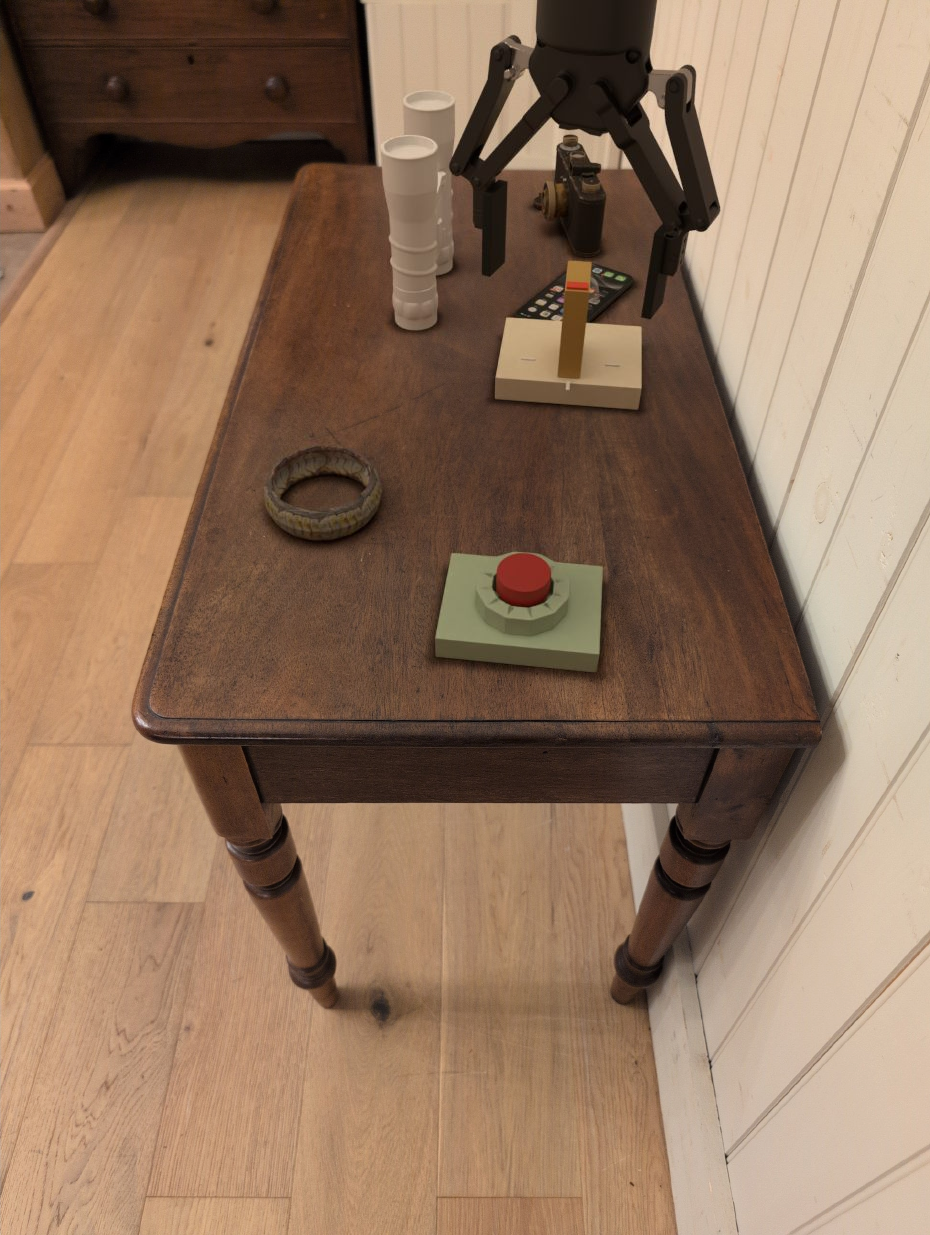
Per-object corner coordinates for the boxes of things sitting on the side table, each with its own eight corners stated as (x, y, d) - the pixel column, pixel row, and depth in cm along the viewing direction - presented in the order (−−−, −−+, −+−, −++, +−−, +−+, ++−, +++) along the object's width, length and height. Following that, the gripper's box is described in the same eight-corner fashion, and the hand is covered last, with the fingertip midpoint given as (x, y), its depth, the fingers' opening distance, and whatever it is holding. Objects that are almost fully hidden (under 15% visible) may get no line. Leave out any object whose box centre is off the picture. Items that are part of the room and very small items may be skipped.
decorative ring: (391, 473, 83) (283, 464, 84) (389, 444, 80) (278, 435, 81) (371, 551, 76) (253, 541, 77) (367, 522, 74) (246, 512, 75)
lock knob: (560, 345, 92) (568, 257, 85) (582, 347, 92) (592, 259, 85) (557, 377, 88) (565, 287, 82) (580, 378, 88) (589, 289, 81)
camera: (528, 197, 120) (532, 132, 114) (579, 195, 120) (585, 130, 114) (551, 259, 109) (556, 191, 103) (606, 256, 109) (614, 188, 103)
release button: (551, 571, 70) (552, 555, 68) (547, 610, 67) (549, 594, 66) (498, 566, 70) (499, 550, 69) (493, 605, 67) (493, 588, 66)
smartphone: (636, 277, 105) (571, 335, 96) (636, 282, 105) (570, 340, 97) (580, 258, 108) (511, 313, 99) (579, 264, 108) (511, 319, 100)
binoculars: (436, 334, 98) (432, 159, 85) (386, 330, 99) (374, 156, 85) (459, 256, 109) (458, 91, 96) (414, 253, 110) (407, 88, 96)
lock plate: (638, 347, 96) (641, 324, 94) (638, 418, 88) (642, 395, 86) (505, 338, 98) (506, 315, 96) (493, 407, 89) (493, 384, 87)
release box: (599, 585, 74) (605, 549, 71) (596, 673, 68) (602, 638, 65) (451, 571, 75) (451, 535, 72) (435, 657, 69) (434, 621, 66)
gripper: (394, -45, 58) (409, 272, 74) (784, 13, 50) (708, 353, 66) (451, -71, 62) (454, 233, 78) (818, -22, 55) (739, 305, 71)
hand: (570, 289), depth 72 cm, fingers open, 13 cm apart
